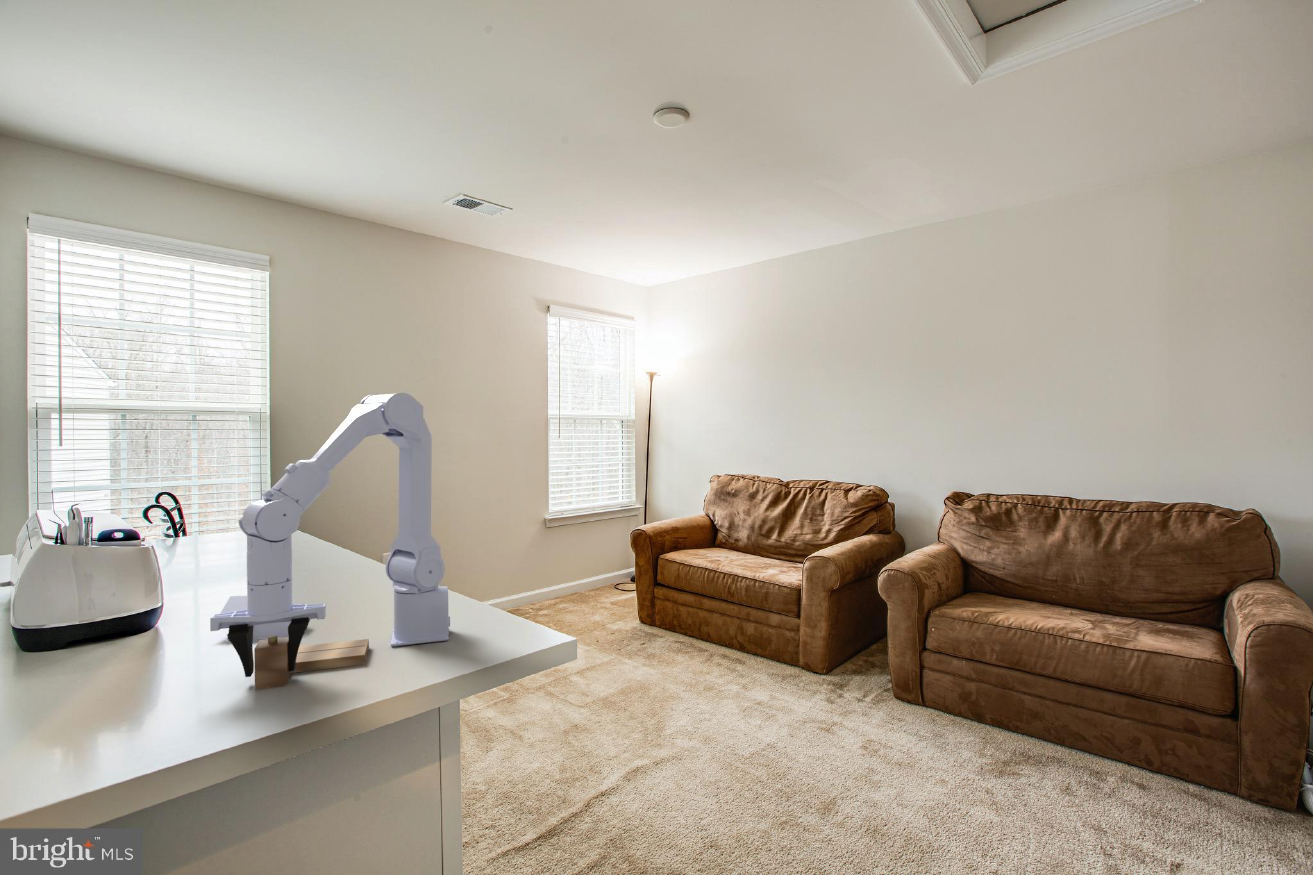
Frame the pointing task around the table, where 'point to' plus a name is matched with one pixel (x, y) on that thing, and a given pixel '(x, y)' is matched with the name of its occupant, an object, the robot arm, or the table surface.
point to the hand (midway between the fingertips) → (271, 671)
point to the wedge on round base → (258, 630)
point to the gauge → (271, 663)
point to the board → (331, 655)
